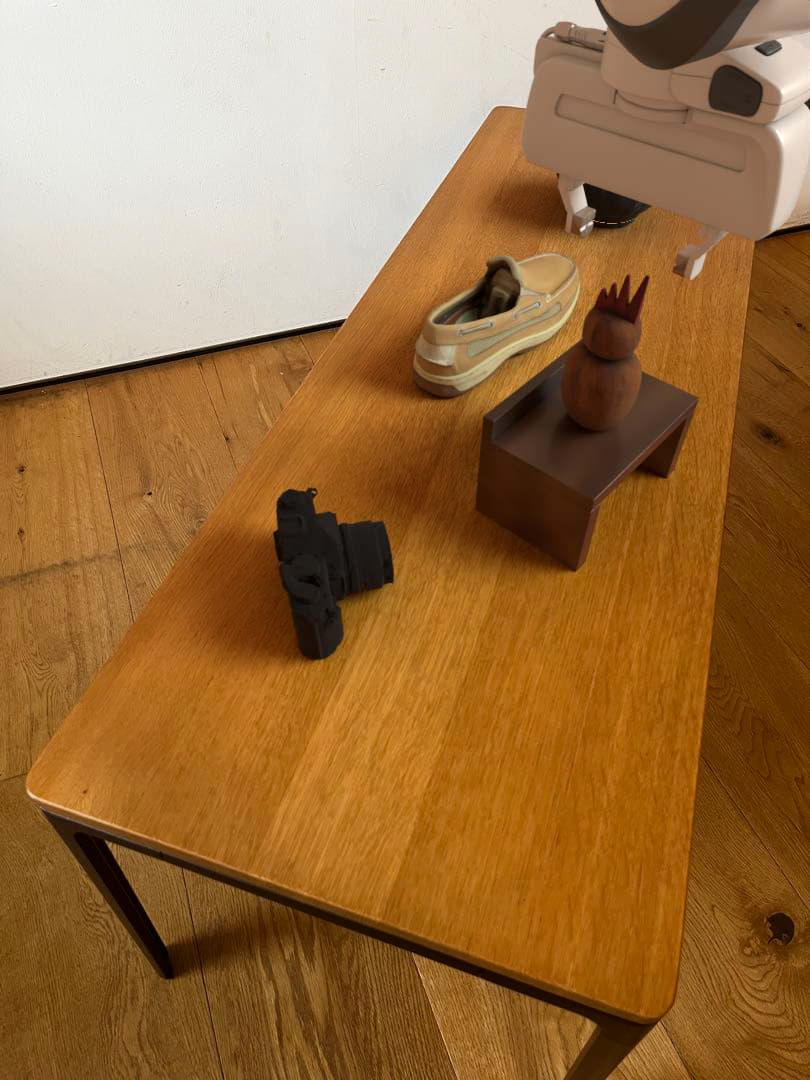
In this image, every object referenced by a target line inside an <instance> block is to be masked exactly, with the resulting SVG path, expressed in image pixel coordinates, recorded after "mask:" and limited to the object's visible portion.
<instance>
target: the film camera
mask: <svg viewBox="0 0 810 1080" xmlns="http://www.w3.org/2000/svg"><path fill="white" fill-rule="evenodd" d="M318 494H319V492H318V489H317V488H316V487H307V489H306V490H297V489H295V488H288V489H286V490H284V491H282V493H281V494H280V496H278V498H277V500H276V509H275V514H276V525H277V526H276V527H277V528H276V530H274V531H273V532H272V536H273V542H274V550H275V554H276V560H277V561H278V563H280V564H279V566H278V571H279V576H280V581H281V586H282V589H284V590H285V591H286V595H287V599H288V604H289V608H290V614H291V617H292V624H293V628H294V631H295V636H296V637H295V638H296V642H297V648H298V650H299V651H300V653H301V654H302V655H303V657H306V658H308V659H310V660H314V661H316V660H317V661H318V660H324V659H327V658H329V657H330V656H331V655H333V654H334V653H335V652H336V651H337V649H338V647H339V646H340V645H341V644H342V642H343V640H344V636H345V630H344V622H343V613H342V607H341V606H340V605H338V604H337V602H338V601H342V600H344V599H345V597H346V596H347V595H348V594H351V595H357V594H360V593H362V592H364V591H367V592H369V591H373V590H381V589H382V588H384V585H389V584H394V583H395V567H394V562H393V554H392V549H391V542H390V538H389V535H388V532H387V526H386V524H385V522H384V520H379V521H372V520H371V519H368V520H362V521H361V520H360V521H356V522H353V523H348V522H347V521H346V522H342V523H338V517H337V513H336V512H332V511H330V510H327V511H325V512H318V513H317V511H316V506H315V502H314V499H315V498H316V497H317V495H318Z"/></svg>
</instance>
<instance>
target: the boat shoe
mask: <svg viewBox="0 0 810 1080" xmlns="http://www.w3.org/2000/svg"><path fill="white" fill-rule="evenodd" d="M485 265H486V267H487V269H486V270H485V273H484V274H483V276H481V277H480V279H479V280H477V282H476V283H475V284H474V285H472V286H470V287H468V288H466V289H464V290H463V291H461V292H460V293H458V294H456V295H455V296H453V297H451V298H450V299H448V301H445V302H442V303H441V304H439V305H438V306H436V307H434V308H433V309H432V310H431V311H430V312H429V314H428V315H427V317H426V319H425V321H424V325H423V328H422V331H421V333H420V335H419V338H418V339H416V342H415V345H414V348H415V353H414V357H413V363H412V364H413V368H412V377H413V380H414V382H415V383H416V384H417V386H418V387H420V388H421V389H422V390H424V391H426V392H428V393H431V394H432V395H435V396H438V397H441V398H454V397H458V396H462V395H463V394H466V393H468V392H470V391H472V390H473V389H475V388H476V387H477V386H479V385H480V384H482V383H484V382H485V381H487V380H488V379H489V378H490V377H492V376H493V375H494V374H495V373H496V372H497V371H498V370H499V369H501V366H502V365H503V364H504V363H505V362H506V361H508V360H509V359H511V358H512V357H513V356H516V355H522V354H525V353H527V352H529V351H531V350H533V349H535V348H537V347H539V346H541V345H542V344H544V343H546V342H548V341H549V340H551V339H552V338H553V337H554V336H555V335H556V334H557V333H559V331H560V330H561V329H562V328H563V326H564V325H565V324H566V322H567V321H568V319H569V318H570V316H571V314H572V313H573V310H574V308H575V306H576V304H577V301H578V297H579V294H580V288H581V285H580V284H581V281H580V279H581V274H580V270H579V268H578V266H577V263H576V262H575V261H574V260H573V259H572V257H569V256H568V255H566V254H563V253H561V252H556V251H546V252H539V253H536V254H534V255H531V256H529V257H525V258H523V259H519V260H517V261H516V260H515V259H514V258H513V257H511V255H506V254H498V255H496V256H492V257H490V258H488V259H487V260H486V264H485Z"/></svg>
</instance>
